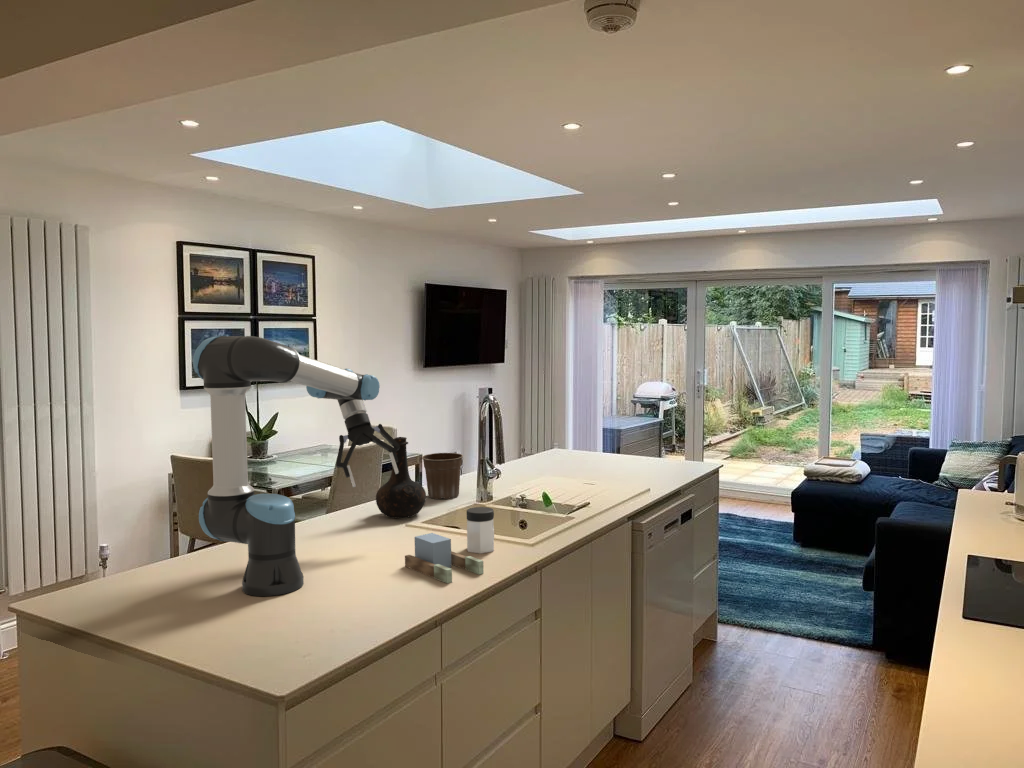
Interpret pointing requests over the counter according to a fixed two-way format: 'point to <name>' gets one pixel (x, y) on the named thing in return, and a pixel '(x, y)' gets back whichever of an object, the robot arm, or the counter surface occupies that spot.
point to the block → (433, 549)
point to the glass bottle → (400, 489)
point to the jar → (480, 530)
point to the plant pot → (443, 474)
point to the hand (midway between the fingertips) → (376, 479)
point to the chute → (442, 571)
